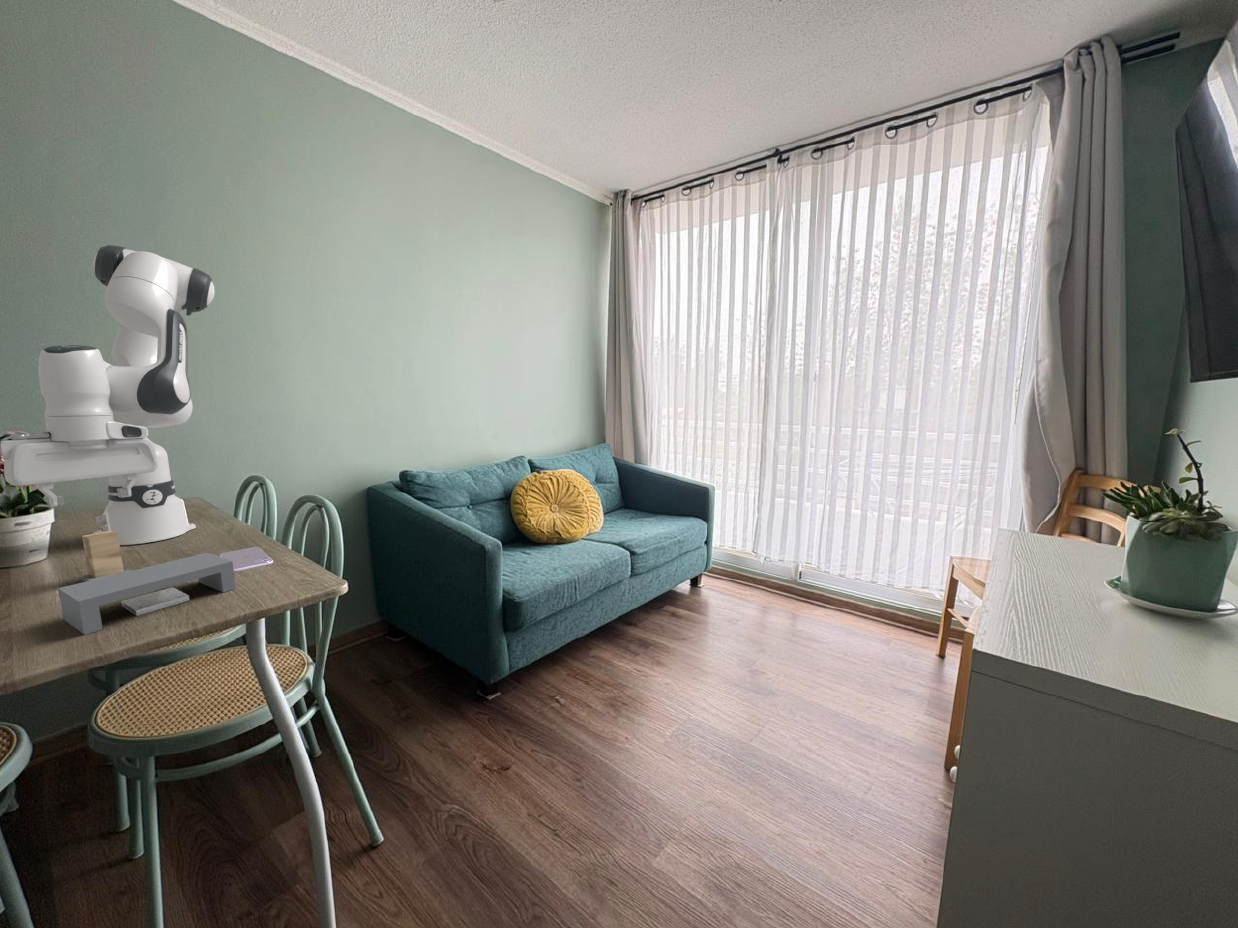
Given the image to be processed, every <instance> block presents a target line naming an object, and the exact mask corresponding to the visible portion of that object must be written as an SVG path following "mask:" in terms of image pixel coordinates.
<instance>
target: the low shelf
mask: <svg viewBox="0 0 1238 928" xmlns="http://www.w3.org/2000/svg"><path fill="white" fill-rule="evenodd" d="M197 579H198V582H199V583H200V584H201V585H205V586H208V587H209V588H212V589H214V590H216V591H219V592H221V593H226V592H230V591H233V590H236V589H237V586H236V578H235V571H234V569H233V561H230V560H228V559H225V558H222V557H220V555H216V554H214V553H210V552H204V553H200V554H196V555H192V556H188V557H183V558H180V559H175V560H171V561H166V562H163V563H158V564H153V565H150V566H145V567H142V568H138V569H133V570H132V571H128V572H124V573H120V574H116V575H112V576H108V577H103V578H99V579H95V580H91V581H87V582H84V581H82V582H79V583H74V584H70V585H66V586H62V587H58V588H57V590H58V595H59V601H60V605H61V612H62V616H63V621H65V622H66V623H67V624H69V625H70V626H72V627H73V628H75V629H76V631H79V632H80V633H81V634H83V635H84V636H86V635H89V634H93V633H95V632H99V631H102V630H104V628H103V624H102V622H103V621H102V615H101V611H100V606H102V605H106V604H109V603H110V604H111V603H113V602H116V601H122V600H126V599H129V598H133V597H137V596H140V595H143V594H146V593H147V594H148V593H151V592H155V591H159V590H162V589H164V588H169V587H172V586H175V585H179V584H183V583H187V582H192V581H193V580H197Z"/></svg>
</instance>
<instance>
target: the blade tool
mask: <svg viewBox="0 0 1238 928" xmlns="http://www.w3.org/2000/svg"><path fill="white" fill-rule="evenodd" d="M81 538H82V543H83V549H84V554H85V560H86V565H87V567H86V568H87V572H88V574H85V575H81V581H82V582H87V581H91V580H95V579H99V578H103V577H108V576H112V575H116V574H120V573H124V572H128V571H133V570H132V569H130V568H128V567H125V566H124V565H123V558H122V551H121V545H120V544H119V538H118V533H115V532H113V531H106V532H100V533H95V534H94V533H90V534H85V535H82V536H81Z"/></svg>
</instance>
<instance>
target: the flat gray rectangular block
mask: <svg viewBox="0 0 1238 928" xmlns="http://www.w3.org/2000/svg"><path fill="white" fill-rule="evenodd" d="M120 601H121V602H120V603H121V607H122V608H124V610H127V611H128V612H130V613H131V614H133V615H134V616H136V617H138V616H141V615H145V614H148V613H151V612H155V611H159V610H162V609H164V608H169V607H172V606H175V605H179V604H182V603H185V602H189V601H190V595H189V594H187V593H185V592H183V591H181V590H179V589H177V588H176V587H172V586H171V587H170V588H169V587H167V588H166V589H160V590H156V591H152V592H149V593H147V594H146V593H145V594H144V595H143V594H141V595H137V596H134V597H130V598H126V599H122V600H120Z"/></svg>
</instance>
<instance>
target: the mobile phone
mask: <svg viewBox="0 0 1238 928" xmlns="http://www.w3.org/2000/svg"><path fill="white" fill-rule="evenodd" d="M219 557H222V558H225V559H228V560H230V561H233V569H234V572H240V571H245V570H248V569H253V568H258V567H263V566H268V565H271V564H273V563H274V560H273V559H272V558H271V557H270V556H269V555H268V554H267V553H266V552H264V550H262V549H261V548H260V547H259V546H252V547H247V548H243V549H237V550H231V551H227V552H222V553H220V554H219Z"/></svg>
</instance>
